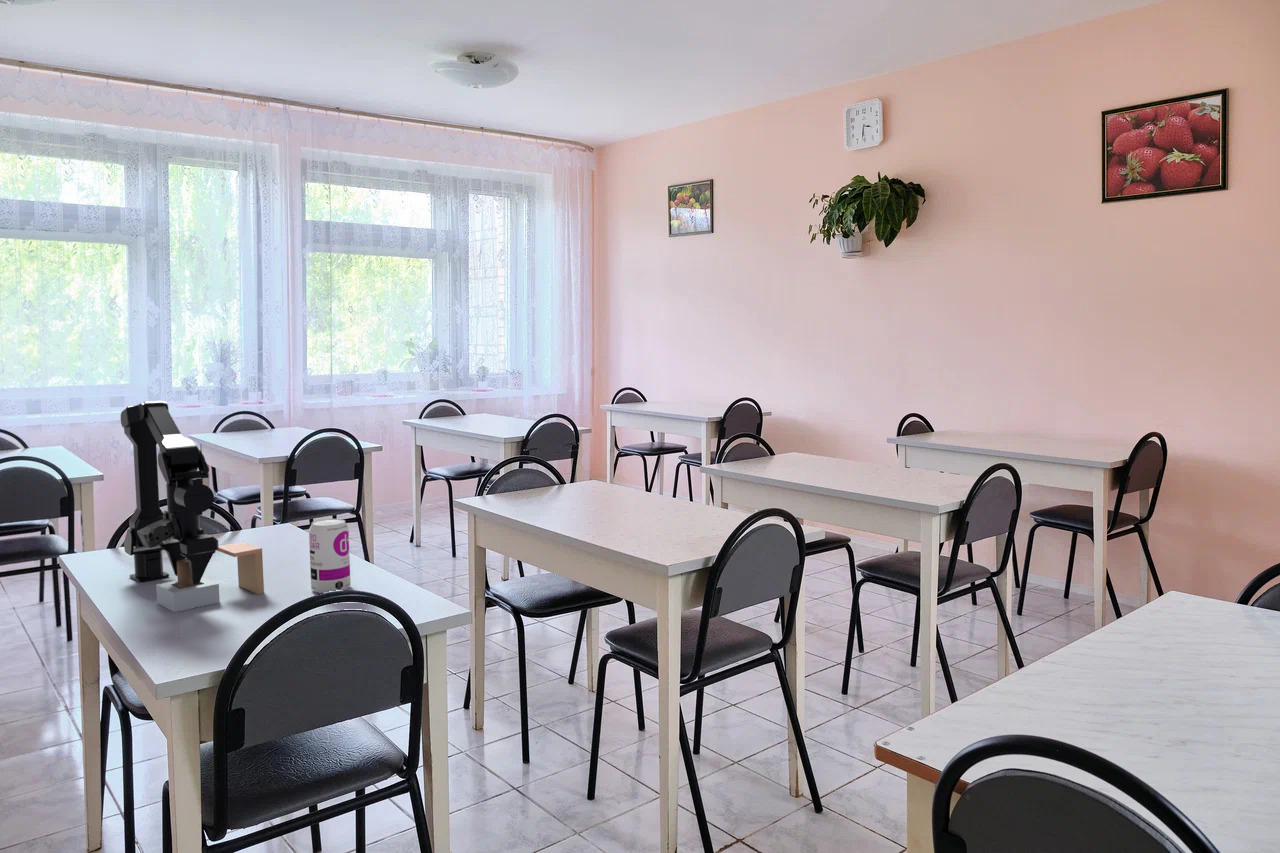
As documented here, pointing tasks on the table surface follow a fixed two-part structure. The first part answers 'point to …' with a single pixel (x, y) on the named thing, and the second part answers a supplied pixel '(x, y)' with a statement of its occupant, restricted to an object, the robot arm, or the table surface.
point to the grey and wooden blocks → (209, 590)
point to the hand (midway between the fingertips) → (187, 579)
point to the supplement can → (329, 555)
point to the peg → (184, 574)
